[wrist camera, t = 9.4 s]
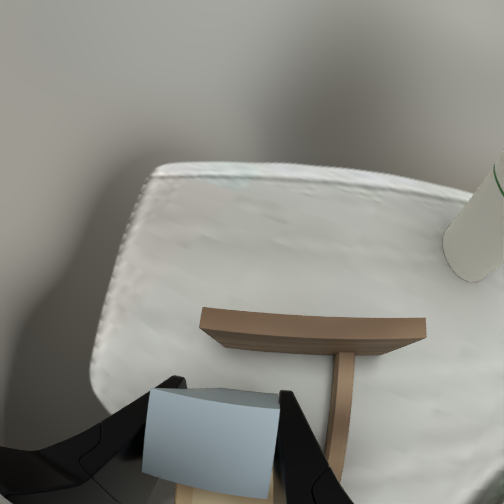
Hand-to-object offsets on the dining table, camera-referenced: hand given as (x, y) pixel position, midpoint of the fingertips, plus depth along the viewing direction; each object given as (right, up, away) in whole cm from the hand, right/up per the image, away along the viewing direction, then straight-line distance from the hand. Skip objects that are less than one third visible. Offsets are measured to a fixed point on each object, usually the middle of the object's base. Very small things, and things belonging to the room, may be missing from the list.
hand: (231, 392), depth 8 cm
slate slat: (0, -4, +5) cm, 7 cm away
